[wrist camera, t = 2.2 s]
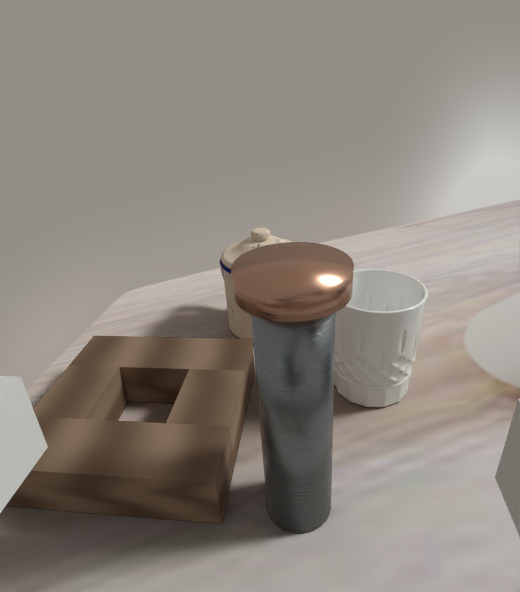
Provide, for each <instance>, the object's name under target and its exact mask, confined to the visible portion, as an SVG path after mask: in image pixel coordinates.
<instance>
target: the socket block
mask: <svg viewBox="0 0 520 592" xmlns="http://www.w3.org/2000/svg"><path fill="white" fill-rule="evenodd" d="M254 375H255V368H254V356H253V344H252V339H225V338H176V337H127V336H93V338H92V339H91V340H90V341H89V342H88V344H87V345H86V346H85V347H84V348H83V350H82V351H81V352H80V353H79V354H78V356H77V357H76V358H75V359H74V360H73V361H72V363H71V364H70V365H69V366H68V367H67V369H66V370H65V371H64V372H63V373H62V375H61V376H60V377H59V378H58V379H57V381H56V382H55V383H54V384H53V385H52V387H51V388H50V389H49V390H48V391H47V393H46V394H45V395H44V396H43V397H42V399H41V400H40V401H39V402H38V403H37V405H36V406H35V407H34V408H33V410H34V413H35V415H36V418H37V420H38V423H39V425H40V428H41V431H42V433H43V436H44V438H45V441H46V443H47V446H48V448H47V449H46V450H45V452H44V453H43V455H42V456H41V457H40V459H39V460H38V462H37V463H36V464H35V466H34V467H33V468H32V470H31V471H30V473H29V474H28V475H27V477H26V478H25V480H24V481H23V482H22V484H21V485H20V487H19V488H18V489H17V491H16V492H15V493H14V495H13V496H12V498H11V499H10V500H9V502H8V503H7V505H6V506H12V507H24V508H36V509H48V510H60V511H72V512H84V513H97V514H109V515H121V516H133V517H145V518H157V519H169V520H181V521H193V522H205V523H218V524H222V521H223V517H224V512H225V507H226V503H227V498H228V494H229V489H230V484H231V480H232V475H233V471H234V466H235V462H236V457H237V452H238V448H239V443H240V439H241V434H242V430H243V425H244V420H245V416H246V411H247V407H248V402H249V397H250V393H251V388H252V384H253V379H254ZM129 401H130V402H153V403H174V406H173V408H172V410H171V412H170V415H169V417H168V419H167V422H166V423H152V422H132V421H118V419H119V418H120V416H121V414H122V412H123V411H124V409H125V407H126V405H127V404H128V402H129Z"/></svg>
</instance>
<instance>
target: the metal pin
mask: <svg viewBox="0 0 520 592" xmlns="http://www.w3.org/2000/svg"><path fill="white" fill-rule="evenodd" d="M353 268H354V264H353V261H352V259H351V258H350V257H349V256H348V255H347V254H346V253H344V252H343V251H341V250H339V249H336V248H334V247H330V246H327V245H323V244H317V243H308V242H286V243H276V244H270V245H265V246H261V247H258V248H255V249H252V250H250V251H247V252H245V253H244V254H242V255H240V256H239V257H238V258H237V259H236V260H235V261H234V262H233V264H232V266H231V275H232V284H233V294H234V300H235V302H236V304H237V305H238V306H239V307H240V308H241V309H242V310H243V311H245V312H246V313H248V314H250V315H251V319H252V331H253V343H254V356H255V368H256V380H257V392H258V404H259V416H260V428H261V440H262V452H263V464H264V476H265V488H266V500H267V509H268V513H269V515H270V517H271V519H272V520H273V521H274V522H275V523H276V524H277V525H278V526H279V527H280V528H282V529H284V530H286V531H289V532H293V533H307V532H311V531H313V530H316V529H317V528H319V527H320V526H322V525H323V524H324V523H325V521H326V520H327V518H328V516H329V514H330V510H331V480H332V439H333V398H334V357H335V317H336V312H338V311H339V310H341V309H342V308H344V307H345V306H346V305H347V304H348V303H349V302H350V300H351V298H352V290H353Z"/></svg>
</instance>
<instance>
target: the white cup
mask: <svg viewBox="0 0 520 592" xmlns="http://www.w3.org/2000/svg"><path fill="white" fill-rule="evenodd" d="M427 296H428V292H427V289H426V287H425V286H424V285H423V284H422V283H421V282H420V281H419V280H417V279H415V278H414V277H412V276H409V275H407V274H404V273H401V272H397V271H392V270H385V269H360V270H354V271H353V290H352V298H351V300H350V302H349V303H348V304H347V305H346V306H345V307H344V308H342V309H341V310H339V311H338V312H336V317H335V357H334V385H335V387H336V389H337V391H338V393H339V394H341V395H342V396H343V397H345V398H346V399H347V400H349V401H350V402H353V403H356V404H359V405H362V406H365V407H386V406H389V405H391V404H394V403H397V402H399V401H400V400H401V399H402V398H403V397H404V396H405V394H406V393H407V391H408V385H409V380H410V374H411V369H412V367H413V365H414V361H415V356H416V351H417V347H418V343H419V338H420V333H421V327H422V322H423V317H424V311H425V306H426V301H427Z"/></svg>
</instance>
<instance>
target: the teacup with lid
mask: <svg viewBox="0 0 520 592" xmlns="http://www.w3.org/2000/svg"><path fill="white" fill-rule="evenodd" d="M286 242H292V241H289V240H285V239H281V238H278V237H275V236H272V235H270V231H269V230H268V229H267V228H262V227H261V228H255V229H253V230H252V232H251V237H248V238H246V239H244V240H243V241H240V242H237V243H234V244H232V245H231V246H229V247H228V248H227V249H225V250H224V252H223V253H222V256H221V259H220V265H221V272H222V276H223V279H224V282H225V291H226V300H227V309H228V318H229V326H230V329H231V331H232V333H233V334H234V335H235V336H237V337H238V338H240V339H252V343H253V331H252V319H251V315H250V314H248V313H246V312H245V311H243V310H242V309H241V308H240V307H239V306H238V305H237V304H236V302H235V300H234V294H233V284H232V275H231V266H232V264H233V262H234V261H235V260H236V259H237V258H238V257H239V256H240V255H242V254H244V253H245V252H247V251H250V250H252V249H255V248H258V247H261V246H265V245H270V244H276V243H286Z"/></svg>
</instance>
